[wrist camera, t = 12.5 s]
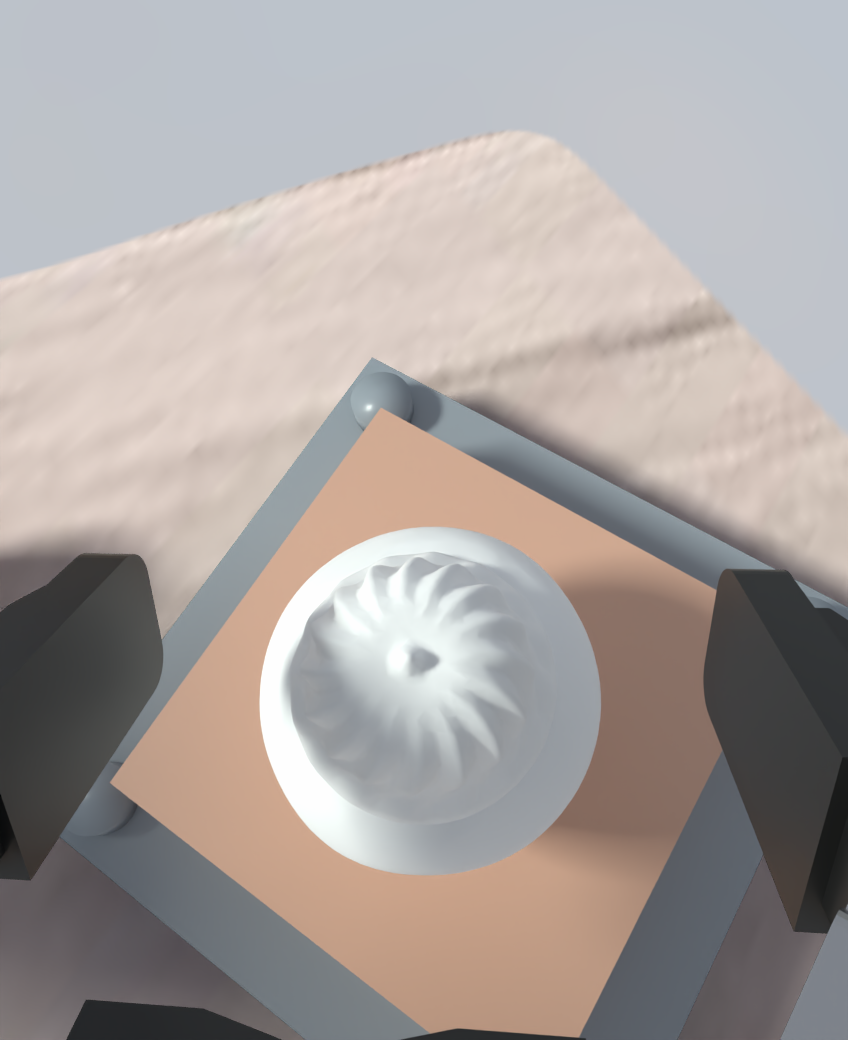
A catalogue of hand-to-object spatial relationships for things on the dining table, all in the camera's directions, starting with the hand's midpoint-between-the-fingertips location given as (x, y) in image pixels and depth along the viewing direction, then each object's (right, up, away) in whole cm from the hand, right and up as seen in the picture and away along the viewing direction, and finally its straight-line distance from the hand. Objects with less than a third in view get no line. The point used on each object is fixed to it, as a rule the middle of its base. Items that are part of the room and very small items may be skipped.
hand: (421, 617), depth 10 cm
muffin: (0, -3, +6) cm, 7 cm away
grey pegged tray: (+1, -5, +12) cm, 13 cm away
